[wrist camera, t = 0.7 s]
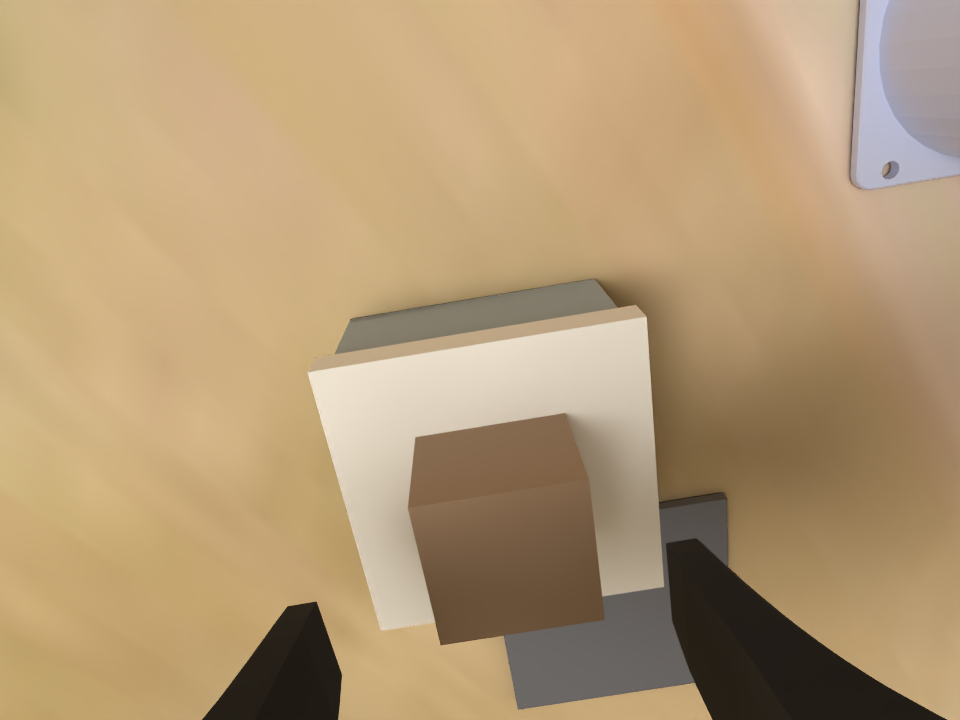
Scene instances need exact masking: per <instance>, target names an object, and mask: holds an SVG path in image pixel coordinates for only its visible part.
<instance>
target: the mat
mask: <svg viewBox="0 0 960 720" xmlns="http://www.w3.org/2000/svg"><path fill="white" fill-rule="evenodd" d="M659 515H660V531H661V546H662V562H663V577H664V587H661V588H654V589H648V590H641V591H635V592H628V593H622V594H615V595H609V596H603V597H602V599H603V608H604V617H605V620H601V621H595V622H588V623H582V624H575V625H569V626H562V627H556V628H549V629H543V630H536V631H530V632H523V633H517V634H510V635H504V638H505V644H506V649H507V654H508V659H509V665H510V670H511V675H512V680H513V686H514V691H515V696H516V701H517V707H518V710H519V709H525V708H532V707H538V706H545V705H552V704H558V703H565V702H571V701H578V700H585V699H591V698H598V697H604V696H611V695H618V694H624V693H631V692H637V691H644V690H651V689H657V688H664V687H670V686H677V685H684V684H690V683H695V682H694V679H693V677H692V675H691V673H690V671H689V668H688V665H687V663H686V660H685V657H684V654H683V651H682V649H681V646H680V643H679V640H678V637H677V634H676V631H675V628H674V625H673V622H672V614H671V602H670V589H669V577H668V564H667V552H666V543H669V542H675V541H681V540H687V539H693V538H697V539H698V540H699V541H701V542H702V543H703V544H704V545H705V546H706V547H707V548H708V549H709V550H710V551H711V552H712V553H714V554H715V555H716V556H717V557H718V558H719V559H720V560H721V561H722V562H723V563H724V564H725V565H726V566H727V567H728V537H727V498H726V497H725V495H724V494H723V493H718V494H711V495H705V496H699V497H692V498H686V499H680V500H673V501H667V502H661V503H659Z"/></svg>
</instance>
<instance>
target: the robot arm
mask: <svg viewBox="0 0 960 720" xmlns="http://www.w3.org/2000/svg"><path fill="white" fill-rule="evenodd" d="M888 162H890V164H891V169H890V172H889V173H888V174H887V176H885V177H883V176H882V169H883V166H884V165H885V164H886V163H888ZM850 175H851V181H852V183H853V184H854V185H855V186H856V187H858V188H861V189H865V190H873V189H879V188H885V187H891V186H897V185H903V184H909V183H915V182H921V181H927V180H933V179H939V178H945V177H951V176H957V175H960V0H860V14H859V31H858V49H857V67H856V85H855V102H854V120H853V138H852V156H851V173H850ZM666 552H667V564H668V577H669V589H670V602H671V614H672V622H673V625H674V628H675V631H676V634H677V637H678V640H679V643H680V646H681V649H682V651H683V654H684V657H685V660H686V663H687V665H688V668H689V671H690V673H691V675H692V677H693V679H694V682H695V684H696V686H697V688H698V690H699V692H700V694H701V696H702V698H703V701H704V703H705V705H706V707H707V709H708V711H709V713H710V715H711V717H712V720H947V719H945V718H943V717H941V716H939V715H937V714H935V713H933V712H932V711H930V710H928V709H926V708H924V707H923V706H921V705H919V704H917V703H915V702H914V701H912V700H910V699H908V698H906V697H904V696H903V695H901V694H899V693H897V692H895V691H894V690H892V689H890V688H888V687H887V686H885V685H883V684H882V683H880V682H878V681H877V680H875V679H874V678H872V677H870V676H869V675H867V674H866V673H864V672H862V671H861V670H859V669H858V668H856V667H855V666H853V665H852V664H850V663H849V662H847V661H846V660H844V659H843V658H841V657H840V656H838V655H837V654H835V653H834V652H832V651H831V650H830V649H828V648H827V647H825V646H824V645H823V644H821V643H820V642H818V641H817V640H816V639H814V638H813V637H812V636H810V635H809V634H808V633H806V632H805V631H804V630H802V629H801V628H800V627H798V626H797V625H796V624H794V623H793V622H792V621H791V620H789V619H788V618H787V617H786V616H784V615H783V614H782V613H781V612H779V611H778V610H777V609H776V608H775V607H773V606H772V605H771V604H770V603H769V602H767V601H766V600H765V599H764V598H763V597H761V596H760V595H759V594H758V593H757V592H755V591H754V590H753V589H752V588H751V587H750V586H748V585H747V584H746V583H745V582H744V581H743V580H742V579H741V578H739V577H738V576H737V575H736V574H735V573H734V572H733V571H732V570H731V569H729V568H728V567H727V566H726V565H725V564H724V563H723V562H722V561H721V560H720V559H719V558H718V557H717V556H716V555H715V554H714V553H712V552H711V551H710V550H709V549H708V548H707V547H706V546H705V545H704V544H703V543H702V542H701V541H699V540H698V539H697V538H693V539H687V540H681V541H675V542H669V543H666ZM341 680H342V674H341V671H340V668H339V665H338V662H337V659H336V656H335V654H334V651H333V648H332V645H331V642H330V639H329V636H328V633H327V630H326V628H325V625H324V622H323V619H322V616H321V613H320V610H319V607H318V605H317V602H311V603H305V604H299V605H293V606H288V607H287V608H286V609H285V611H284V612H283V613H282V615H281V616H280V617H279V619H278V620H277V621H276V623H275V624H274V625H273V627H272V628H271V630H270V631H269V632H268V634H267V635H266V636H265V638H264V639H263V641H262V642H261V643H260V645H259V646H258V647H257V649H256V650H255V652H254V653H253V654H252V656H251V657H250V658H249V660H248V661H247V663H246V664H245V665H244V667H243V668H242V669H241V671H240V672H239V673H238V675H237V676H236V677H235V679H234V680H233V681H232V683H231V684H230V685H229V687H228V688H227V689H226V691H225V692H224V693H223V695H222V696H221V697H220V698H219V700H218V701H217V702H216V703H215V705H214V706H213V707H212V708H211V710H210V711H209V712H208V713H207V714H206V716H205V717H204V718H203V719H202V720H338V715H339V705H340V693H341Z"/></svg>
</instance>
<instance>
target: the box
mask: <svg viewBox="0 0 960 720" xmlns="http://www.w3.org/2000/svg"><path fill="white" fill-rule="evenodd" d="M614 308H618V307H617V306H616V305H615V304H614V302H613V301H612V300H611V299H610V297H609V296H608V295H607V294H606V292H605V291H604V290H603V289H602V287H601V286H600V285H599V284H598V282H597V281H596V280H595V279H589V280H583V281H577V282H571V283H565V284H559V285H553V286H547V287H541V288H535V289H529V290H523V291H517V292H511V293H505V294H499V295H493V296H487V297H481V298H475V299H469V300H463V301H457V302H451V303H445V304H439V305H432V306H426V307H420V308H414V309H408V310H402V311H396V312H390V313H384V314H378V315H372V316H366V317H360V318H354V319H350V322H349V324H348V326H347V328H346V330H345V333H344V335H343V337H342V339H341V341H340V343H339V346H338V348H337V350H336V352H335V354H340V353H346V352H352V351H359V350H365V349H371V348H377V347H383V346H389V345H395V344H401V343H407V342H413V341H419V340H425V339H431V338H438V337H444V336H450V335H456V334H462V333H468V332H474V331H480V330H486V329H492V328H498V327H504V326H511V325H517V324H523V323H529V322H535V321H541V320H547V319H553V318H559V317H565V316H571V315H577V314H583V313H590V312H596V311H602V310H608V309H614Z"/></svg>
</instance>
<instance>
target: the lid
mask: <svg viewBox="0 0 960 720" xmlns="http://www.w3.org/2000/svg"><path fill="white" fill-rule="evenodd" d="M308 376H309V379H310V383H311V386H312V390H313V393H314V397H315V400H316V404H317V407H318V411H319V415H320V418H321V422H322V425H323V429H324V432H325V436H326V439H327V443H328V446H329V450H330V453H331V457H332V460H333V464H334V467H335V471H336V474H337V478H338V481H339V485H340V488H341V492H342V495H343V499H344V502H345V506H346V510H347V513H348V517H349V520H350V524H351V527H352V531H353V534H354V538H355V541H356V545H357V548H358V552H359V555H360V559H361V562H362V566H363V569H364V573H365V576H366V580H367V583H368V587H369V590H370V594H371V597H372V601H373V604H374V608H375V612H376V615H377V619H378V622H379V626H380V629H381V631H383V630H390V629H396V628H403V627H409V626H415V625H422V624H428V623H436V627H437V632H438V636H439V640H440V644H441V645H446V644H452V643H459V642H465V641H472V640H478V639H484V638H491V637H497V636H504V635H510V634H517V633H523V632H530V631H536V630H543V629H549V628H556V627H562V626H569V625H575V624H582V623H588V622H595V621H601V620H605V617H604V608H603V599H602V597H603V596H609V595H615V594H622V593H628V592H635V591H641V590H648V589H654V588H661V587H664V577H663V562H662V546H661V531H660V515H659V500H658V485H657V469H656V454H655V438H654V423H653V407H652V392H651V376H650V361H649V346H648V330H647V317H646V315H645V314H644V313H643V312H642V311H641V310H640V309H639V308H638V307H637V305H632V306H626V307H620V308H614V309H608V310H602V311H596V312H590V313H583V314H577V315H571V316H565V317H559V318H553V319H547V320H541V321H535V322H529V323H523V324H517V325H511V326H504V327H498V328H492V329H486V330H480V331H474V332H468V333H462V334H456V335H450V336H444V337H438V338H431V339H425V340H419V341H413V342H407V343H401V344H395V345H389V346H383V347H377V348H371V349H365V350H359V351H352V352H346V353H340V354H334V355H328V356H322V357H316V358H315V359H314V361H313V363H312V365H311V367H310V369H309V370H308Z"/></svg>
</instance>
